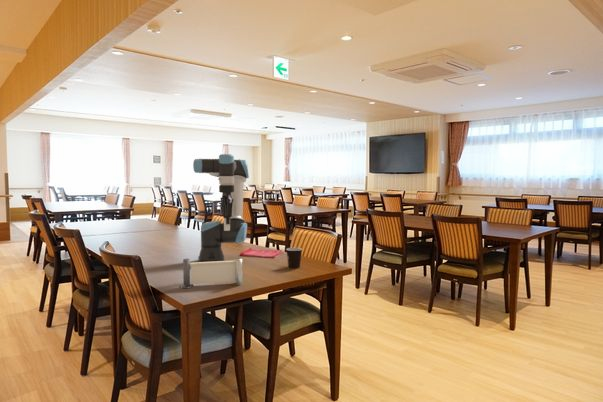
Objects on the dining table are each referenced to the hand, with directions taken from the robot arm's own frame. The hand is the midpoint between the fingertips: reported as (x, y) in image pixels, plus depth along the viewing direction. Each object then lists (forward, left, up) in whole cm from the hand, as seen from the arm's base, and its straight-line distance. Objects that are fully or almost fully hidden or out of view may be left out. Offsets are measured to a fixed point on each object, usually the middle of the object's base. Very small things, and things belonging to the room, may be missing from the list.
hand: (227, 230), depth 204 cm
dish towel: (-13, +48, -23) cm, 55 cm away
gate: (+8, -20, -22) cm, 31 cm away
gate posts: (+8, -21, -22) cm, 32 cm away
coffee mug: (+22, +31, -23) cm, 44 cm away
